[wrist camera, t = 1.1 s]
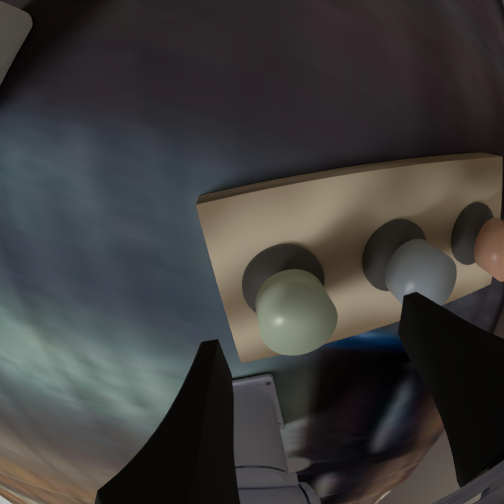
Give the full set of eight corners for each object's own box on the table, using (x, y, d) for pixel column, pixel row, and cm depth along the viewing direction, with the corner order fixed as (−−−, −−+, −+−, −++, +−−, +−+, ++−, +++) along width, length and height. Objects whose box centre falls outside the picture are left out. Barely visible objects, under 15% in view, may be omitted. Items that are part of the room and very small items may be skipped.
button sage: (326, 320, 18) (338, 344, 15) (261, 335, 18) (267, 362, 15) (321, 261, 16) (335, 282, 14) (248, 278, 16) (253, 302, 14)
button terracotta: (500, 260, 18) (519, 273, 16) (470, 273, 18) (490, 288, 16) (506, 214, 16) (528, 224, 14) (476, 222, 16) (499, 234, 14)
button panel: (475, 273, 24) (493, 286, 21) (239, 342, 23) (241, 366, 21) (483, 152, 19) (505, 157, 16) (199, 195, 19) (195, 206, 16)
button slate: (432, 287, 18) (451, 305, 15) (384, 303, 18) (401, 324, 15) (436, 233, 16) (460, 247, 14) (385, 246, 16) (406, 263, 14)
